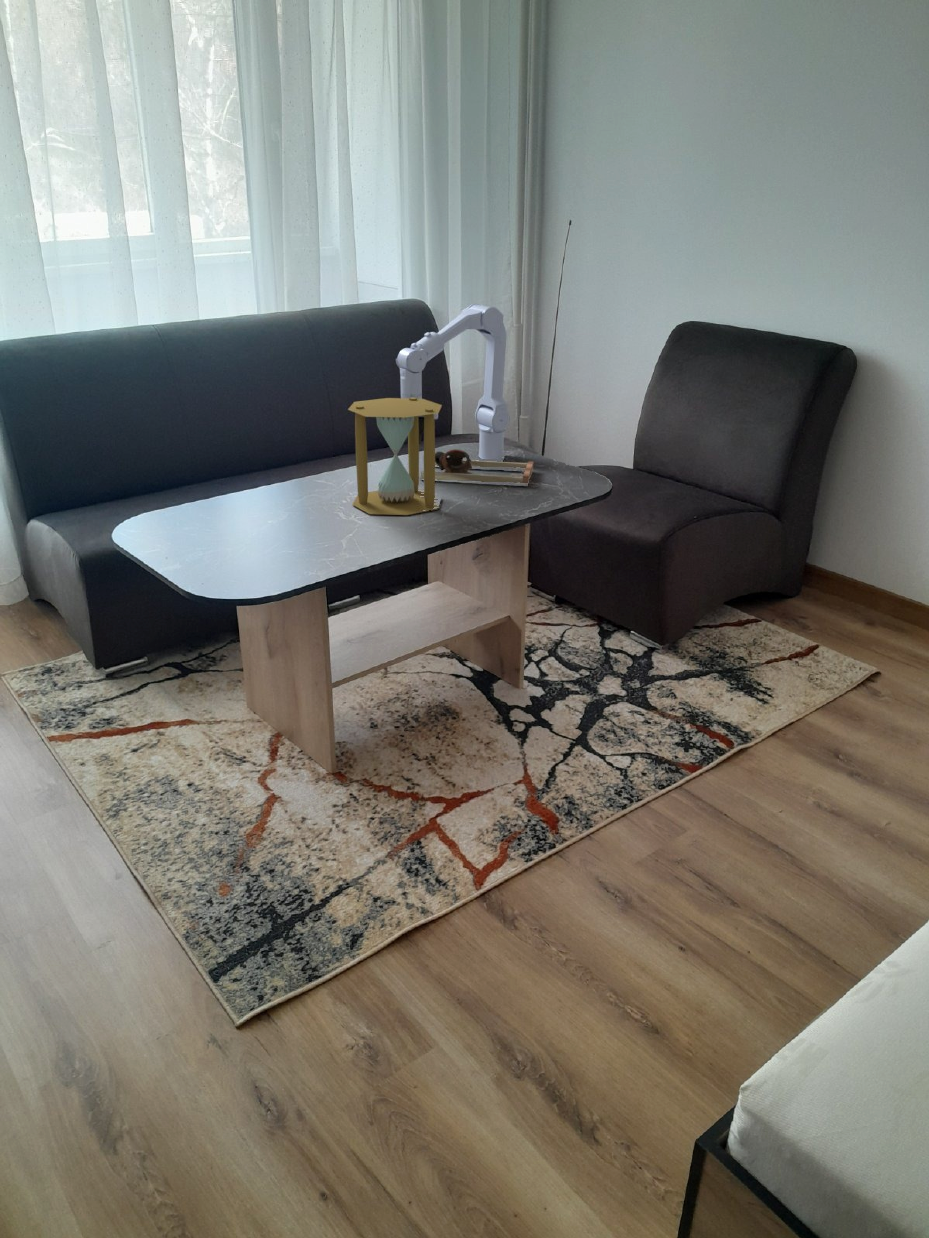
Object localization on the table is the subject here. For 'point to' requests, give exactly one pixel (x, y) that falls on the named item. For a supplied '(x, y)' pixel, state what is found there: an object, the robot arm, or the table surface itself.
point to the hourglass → (396, 483)
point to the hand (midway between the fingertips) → (411, 443)
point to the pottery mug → (453, 461)
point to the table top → (487, 477)
